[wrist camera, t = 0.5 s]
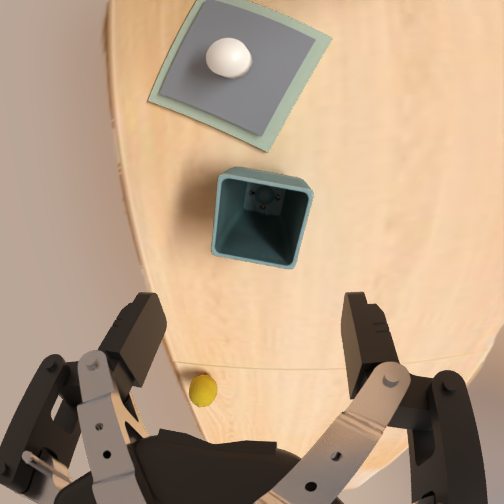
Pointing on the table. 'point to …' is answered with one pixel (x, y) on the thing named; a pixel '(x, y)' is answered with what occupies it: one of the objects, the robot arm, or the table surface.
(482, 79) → the table surface
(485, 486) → the robot arm
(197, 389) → the lemon
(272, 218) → the flower pot
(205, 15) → the lid
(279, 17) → the mat
